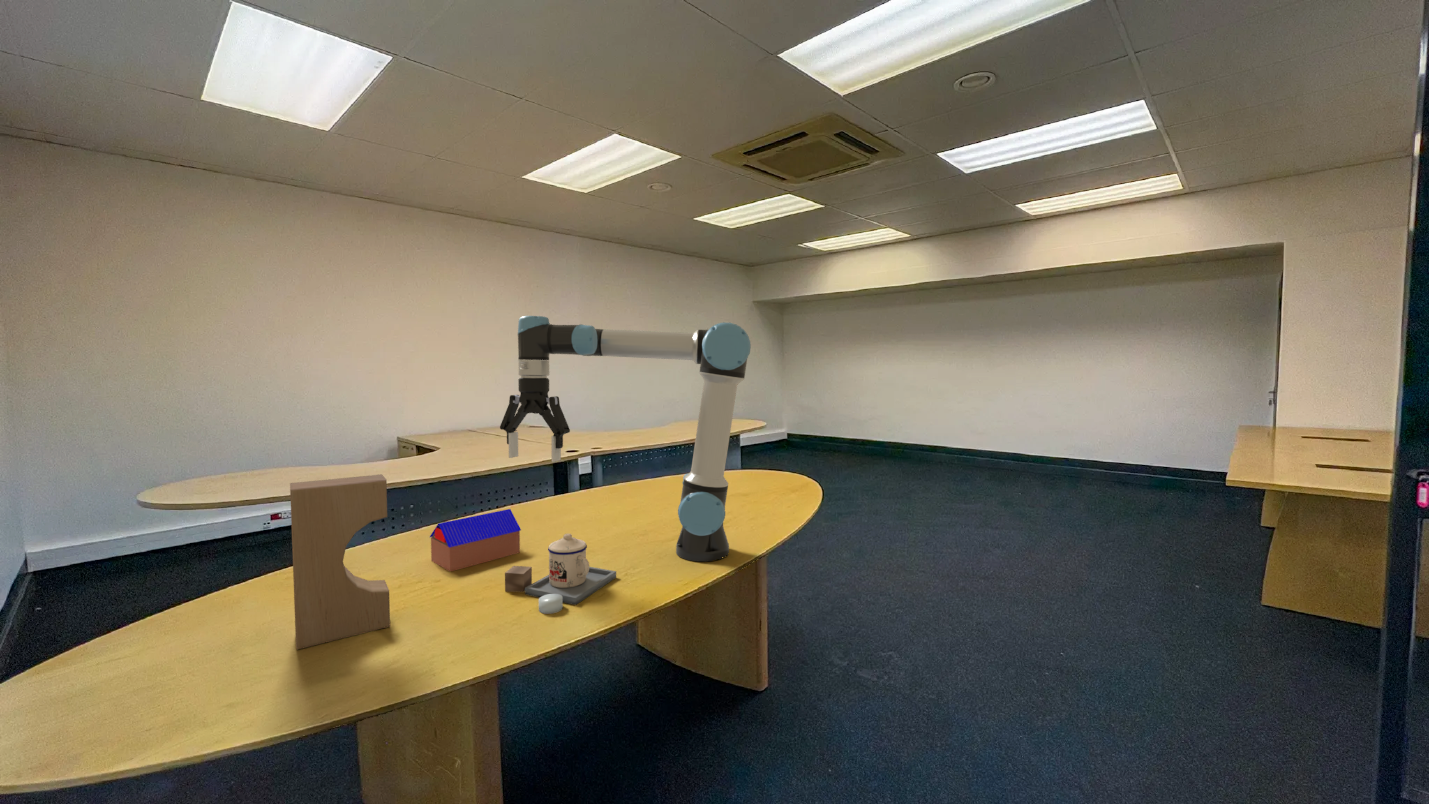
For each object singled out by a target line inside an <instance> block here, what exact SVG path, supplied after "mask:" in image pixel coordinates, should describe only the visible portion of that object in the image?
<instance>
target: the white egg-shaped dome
mask: <svg viewBox="0 0 1429 804" xmlns="http://www.w3.org/2000/svg"><path fill="white" fill-rule="evenodd" d="M562 610H563V597H562V596H561V595H559V594H547V595H544V596H542V597H540V598H539V597H538V611H539V613H541V614H545V615H546V614H548V615H550V614H555V613H559V612H561V611H562Z"/></svg>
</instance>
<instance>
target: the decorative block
mask: <svg viewBox="0 0 1429 804" xmlns="http://www.w3.org/2000/svg"><path fill="white" fill-rule="evenodd" d="M387 483H388V482H387V478H385V476H384V475H383V474H371V475H370V474H369V475H360V476H352V477H339V478H332V479H331V478H330V479H329V478H328V479H321V480H319V479H318V480H309V481H308V480H307V481H299V482H290V483H289V493H290V494H289V495H290V519H291V520H290V522H291V523H290V524H291V544H292V545H291V547H292V549H291V550H292V575H293V598H294V599H293V600H294V601H293V602H294V626H295V627H294V629H295V630H294V631H295V649H297V650H300V649H305V648H309V647H313V646H316V645H321V644H324V643H325V642H326V643H328V642H334V641H336V640H341V639H344V638H345V639H346V638H348V637H353V636H356V635H362V634H366V633H369V632H373V631H377V630H380V629H385V628H389V627H391V609H390V602H391V601H390V589H389V587H388V584H387V582H386V580H385V579H376V580H374V579H372V580H368V579H365V578H362V577H359V576H356V575H354V574H353V572H351V571H350V570H349V569H348V568H347V567H346V565H345V564H344V559H345V552H346V549H347V546H348V545H349V543H350V542H351V540H352V539H353V537H354V536H355V534H356V533H357V532H359V531H360V530H361V529H363V528H365V527H366V526H367V525H368V524H370V523H372V522H375V521H378V520H381V519H385V518H388V491H387V490H388V489H387V487H388V486H387Z"/></svg>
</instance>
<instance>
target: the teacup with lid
mask: <svg viewBox="0 0 1429 804" xmlns="http://www.w3.org/2000/svg"><path fill="white" fill-rule="evenodd" d="M562 536H563V537H561V538H559V539H558V540H555V541H552V542H551V543H550V544H549V545H548V548H547V551H548V569H549V570H548V572H549V573H548V575H549V583H550V584H551V585H552V586H554V587H558V588H570V587H575V586H578V585H581V584H582V583H584V582H585V580H586V575H587V574H588V572H589V567H590V562H589V561H588V559H587V548H588V545H587V542H586V541H584V540H583V539H578V538H576V537H573V535H572V533H564V534H563V535H562Z"/></svg>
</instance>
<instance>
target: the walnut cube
mask: <svg viewBox="0 0 1429 804" xmlns="http://www.w3.org/2000/svg"><path fill="white" fill-rule="evenodd" d="M532 568H533V567H532V566H525V565H524V566H522V565H513V566H512V567H510V568H509V569H508V570H507V571H504V591H505V592H512V593H525V587H527V586H529V585H531V584H533V581H532V580H533V579H532V577H533V576H532V574H533V573H532V571H533V569H532Z"/></svg>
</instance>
